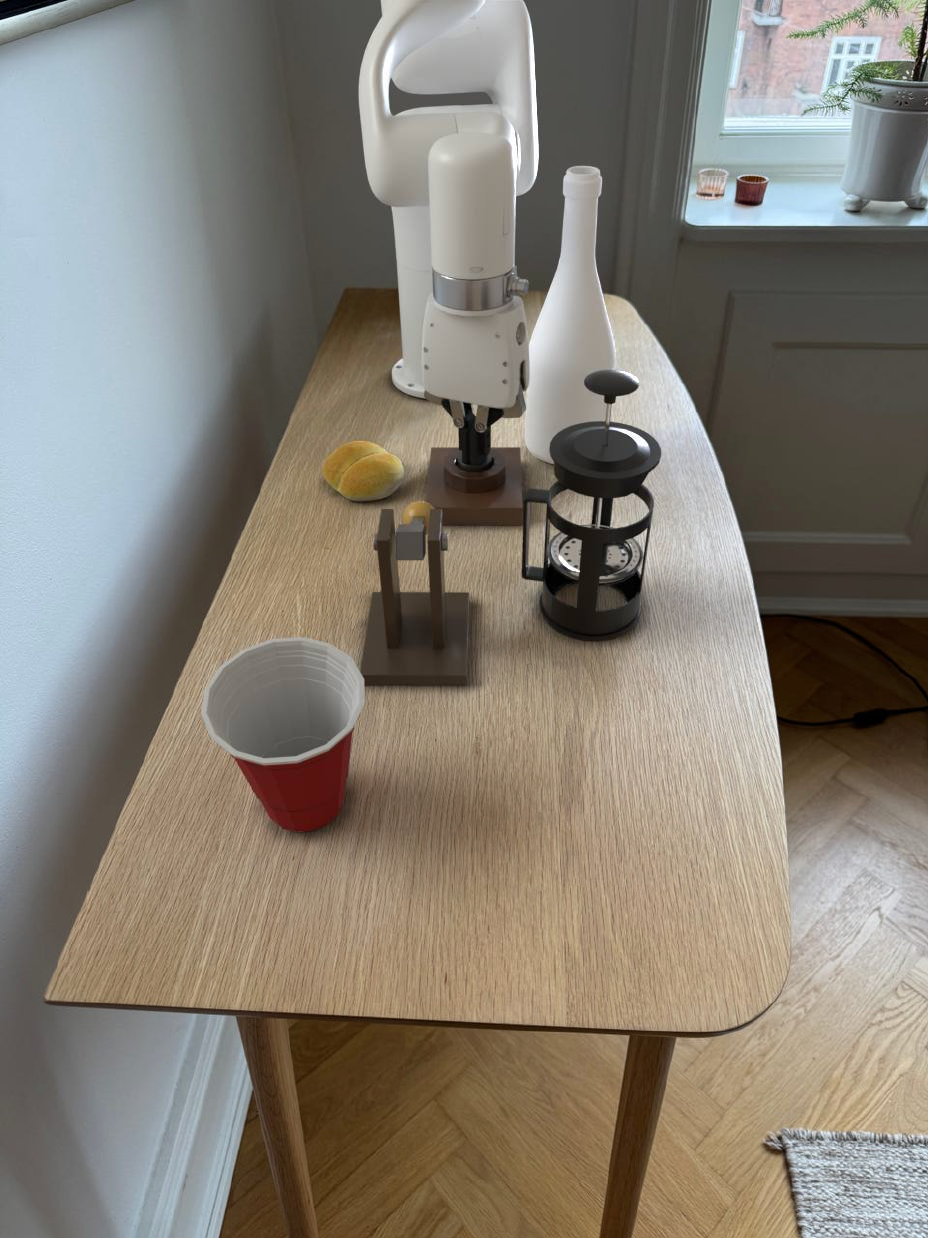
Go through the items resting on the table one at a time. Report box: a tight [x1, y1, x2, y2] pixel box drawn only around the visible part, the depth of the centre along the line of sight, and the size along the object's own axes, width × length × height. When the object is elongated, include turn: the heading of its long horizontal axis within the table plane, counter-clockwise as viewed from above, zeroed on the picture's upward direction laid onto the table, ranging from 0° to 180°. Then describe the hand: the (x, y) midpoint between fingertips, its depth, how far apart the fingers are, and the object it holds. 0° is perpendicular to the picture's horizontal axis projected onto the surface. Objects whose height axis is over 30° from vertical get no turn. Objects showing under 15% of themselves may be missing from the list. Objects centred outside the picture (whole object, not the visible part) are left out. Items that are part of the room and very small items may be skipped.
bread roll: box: [322, 440, 405, 502], centre depth 100 cm, size 8×9×4 cm
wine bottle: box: [524, 165, 617, 465], centre depth 96 cm, size 10×10×30 cm
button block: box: [425, 446, 524, 526], centre depth 98 cm, size 12×10×4 cm
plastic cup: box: [200, 636, 365, 833], centre depth 64 cm, size 11×11×12 cm
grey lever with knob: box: [395, 500, 435, 561], centre depth 79 cm, size 13×3×3 cm, turn 178°
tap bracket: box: [359, 508, 470, 686], centre depth 77 cm, size 11×9×13 cm
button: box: [458, 452, 492, 472], centre depth 97 cm, size 4×4×2 cm
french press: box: [521, 369, 662, 642], centre depth 77 cm, size 12×9×23 cm
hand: (474, 457), depth 96 cm, fingers closed
